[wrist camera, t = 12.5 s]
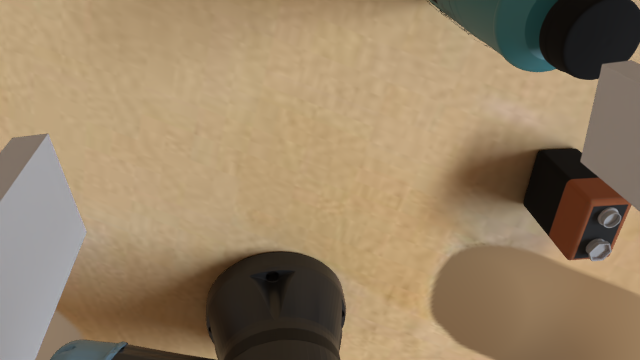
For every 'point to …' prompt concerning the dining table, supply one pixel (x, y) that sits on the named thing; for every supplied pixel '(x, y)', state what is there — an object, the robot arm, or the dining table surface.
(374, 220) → the dining table surface
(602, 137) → the robot arm
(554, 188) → the battery
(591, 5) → the beverage bottle
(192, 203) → the dining table surface
